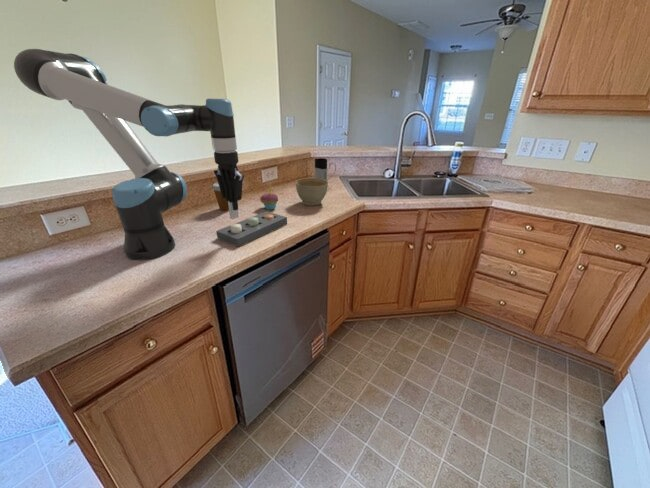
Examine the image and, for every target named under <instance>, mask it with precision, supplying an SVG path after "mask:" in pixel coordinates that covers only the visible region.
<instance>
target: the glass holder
mask: <svg viewBox="0 0 650 488" xmlns="http://www.w3.org/2000/svg"><path fill="white" fill-rule="evenodd" d="M331 164H333V165H334V173H333V174H332V175H331V176H330V177H329V178H328V170H330V168H331ZM336 171H337V165H336V163H335V162H330V163H329V165H328V159H327V158H320V157H319V158H318V157H317V158H315V159H314V178H318V179H323V180H326V181H328V180H329V179H331V178H332V177H333V176H334V175H335V173H336Z"/></svg>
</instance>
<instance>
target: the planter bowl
mask: <svg viewBox="0 0 650 488" xmlns="http://www.w3.org/2000/svg"><path fill="white" fill-rule="evenodd" d="M328 185H329V182H328V180H327V181H326V180H323V179H318V178H315V177H306V178H300V179H297V180H296V181H295V188H296V192H297V195H298V198H300V200H301V202H302V204H303V205H305V206H314V207H315V206H319V205H321V204H322V201H323V200H324V198H325V197H326V195H327V192H328Z"/></svg>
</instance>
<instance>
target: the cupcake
mask: <svg viewBox="0 0 650 488" xmlns="http://www.w3.org/2000/svg"><path fill="white" fill-rule="evenodd" d="M259 200H260V202H261V203H262V204H263V206H264V208H265V209H266V210H274V209H276V207H277V206H276V205H277V202H278V201H279V197H278V195H277V194H275V193H272V184H270V185H269V193H264V194H262V195H261V196H260V197H259Z"/></svg>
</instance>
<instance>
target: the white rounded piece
mask: <svg viewBox="0 0 650 488" xmlns="http://www.w3.org/2000/svg"><path fill="white" fill-rule="evenodd" d="M229 226H230V225H229ZM230 229H231V233H232V234H235V235H236V234H239V233H241V232H242V227H241V224H235V223H234V224H231V226H230Z"/></svg>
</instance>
